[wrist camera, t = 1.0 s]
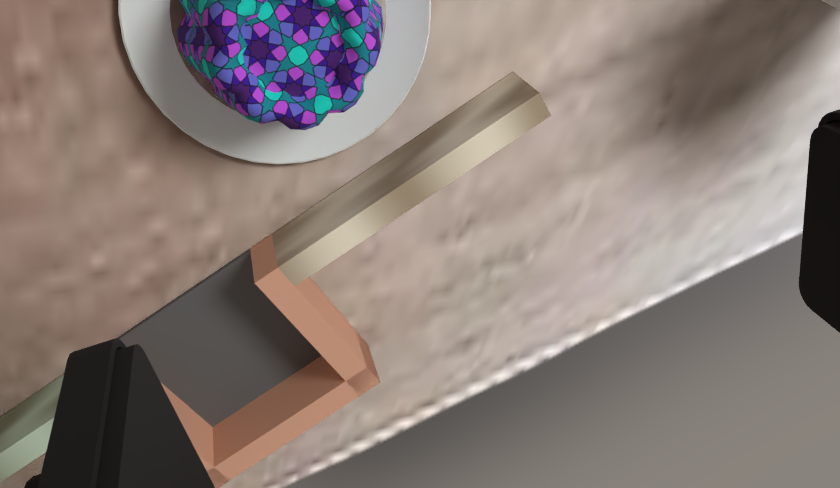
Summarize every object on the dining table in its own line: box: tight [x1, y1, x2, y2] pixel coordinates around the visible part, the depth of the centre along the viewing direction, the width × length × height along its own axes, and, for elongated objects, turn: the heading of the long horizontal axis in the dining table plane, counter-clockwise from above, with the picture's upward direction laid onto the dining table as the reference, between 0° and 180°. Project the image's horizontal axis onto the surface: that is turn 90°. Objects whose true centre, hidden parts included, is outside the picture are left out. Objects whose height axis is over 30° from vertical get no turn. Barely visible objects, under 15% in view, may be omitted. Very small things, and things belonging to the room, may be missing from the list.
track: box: [0, 72, 551, 482], centre depth 29 cm, size 37×17×4 cm, turn 121°
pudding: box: [118, 0, 431, 164], centre depth 28 cm, size 12×12×5 cm
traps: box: [117, 234, 380, 488], centre depth 30 cm, size 10×31×3 cm, turn 31°
